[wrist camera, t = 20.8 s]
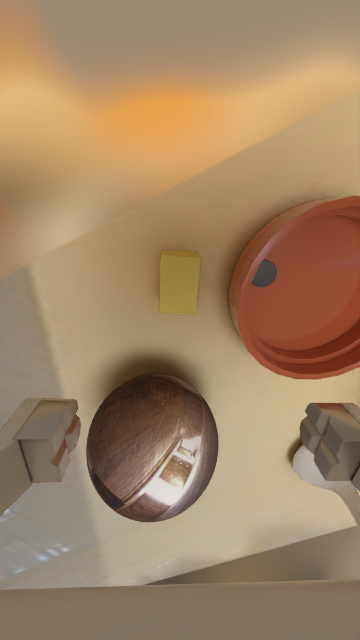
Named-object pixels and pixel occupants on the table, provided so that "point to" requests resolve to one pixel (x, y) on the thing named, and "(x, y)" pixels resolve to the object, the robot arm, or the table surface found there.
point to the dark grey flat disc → (265, 274)
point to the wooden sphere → (152, 448)
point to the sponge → (179, 281)
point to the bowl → (303, 291)
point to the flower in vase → (312, 475)
